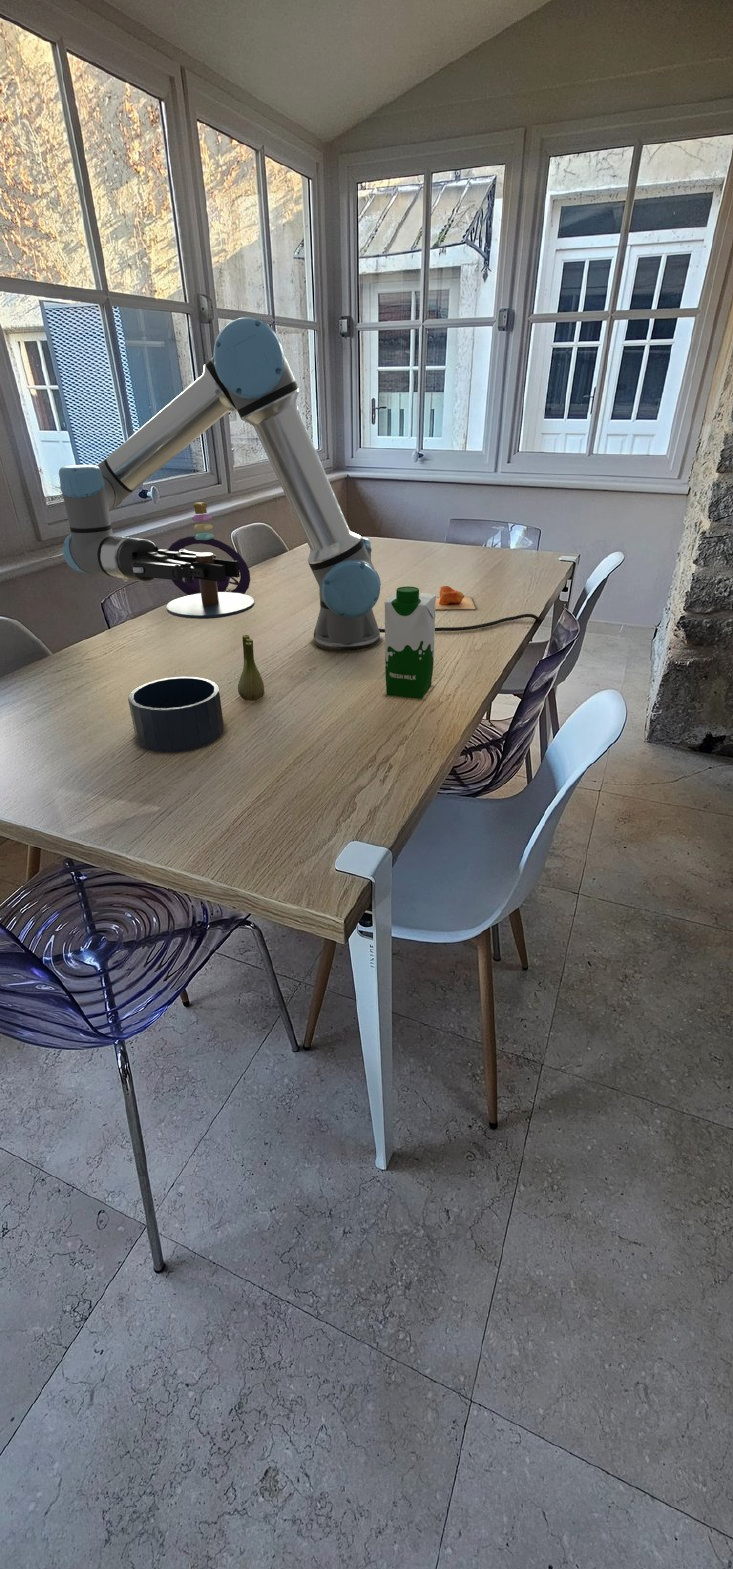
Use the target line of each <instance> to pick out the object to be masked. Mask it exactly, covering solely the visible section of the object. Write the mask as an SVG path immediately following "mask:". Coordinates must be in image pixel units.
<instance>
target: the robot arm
mask: <svg viewBox="0 0 733 1569" xmlns="http://www.w3.org/2000/svg"><path fill="white" fill-rule="evenodd" d="M212 354H213V356H212V358H210V359H209V360H208V361H207V362H205V364H204V365H203V372H202V375H200V376H199V377H198V378H197V379H196V380H195V381H193V382H192V383H191V384H190V385H188V386H187V388H185V389H184V390H183V391H182V392H181V393H179V395H177V396H176V397H175V398H174V399H172V400H171V401H170V402H169V403H168V404H167V405H165V407H163V408H162V409H161V410H160V411H159V412H157V413H156V414H155V415H154V416H153V417H152V418H151V419H149V421H147V422H146V423H145V424H144V425H142V426H141V427H140V428H139V429H138V430H137V431H136V432H134V433H133V434H132V435H131V436H129V438H128V439H126V440H125V441H124V442H123V443H122V444H121V445H120V446H119V447H117V448H116V449H115V450H114V451H112V452H111V454H109V455H107V457H106V458H105V459H103V460H102V461H101V462H100V463H98V464H97V465H95V464H71V465H64V466H62V467H60V468H59V470H58V478H59V484H60V486H59V490H60V491H61V492H60V493H61V494H62V498H63V503H64V507H65V512H66V517H67V520H68V524H69V525H68V526H69V529H70V531H69V532H70V534H68V535H67V537H65V539H64V541H63V547H62V555H63V558H64V560H65V562H66V564H67V565H68V566H69V567H70V568H71V569H73V570H74V571H77V572H81V573H84V574H87V575H92V576H101V577H111V578H117V579H118V578H119V579H122V581H123V582H128V581H129V580H132V581H137V582H143V583H148V582H152V581H154V580H155V579H162V580H170V581H172V580H178V581H181V580H183V579H185V578H187V583H192V582H193V576H194V578H195V579H203V580H210V581H217V582H226V576H228V577H233V578H235V579H236V578H240V570H239V564H238V561H234V560H233V559H226V558H218V557H217V554H214V553H213V557H214V564H210V563H202V562H196V554H199V553H200V552H197V551H191V550H187V549H185V548H183V549H180V550H179V552H172V551H168V549H159V547H158V546H157V545H156V544H155V542H153V541H151V540H149V539H146V538H136V537H128V536H117V535H114V532H113V525H112V521H111V515H110V511H111V510H114V509H116V508H117V507H118V506H120V504H121V503H123V501H124V500H125V499H126V498H127V497H129V496H130V495H131V494H132V493H133V492H134V491H135V490H136V489H138V488H139V487H140V486H142V484H143V483H145V482H147V480H149V479H150V478H151V477H152V476H154V474H156V473H157V472H158V471H160V469H161V468H163V467H164V466H166V465H167V464H168V463H170V461H171V460H172V459H174V458H175V457H176V456H177V455H178V454H179V453H182V451H183V450H185V449H186V448H187V447H188V446H189V445H190V444H192V443H193V442H194V441H195V440H196V439H197V438H199V437H200V436H201V435H203V434H204V433H205V432H206V431H207V430H209V428H211V427H212V426H213V425H214V424H215V423H217V422H218V421H219V420H220V419H222V418H223V417H224V416H225V415H226V414H227V413H229V412H234V413H237V414H238V416H239V418H240V420H241V421H244V422H245V423H247V424H249V425H252V426H253V428H254V430H255V432H256V434H257V437H258V440H259V441H260V443H261V445H262V448H263V449H264V452H265V454H266V457H267V458H268V460H269V463H270V465H271V467H272V469H273V471H274V473H275V476H276V478H277V480H278V482H279V484H280V487H281V488H282V491H283V493H284V496H285V497H286V499H287V501H288V503H289V506H290V508H291V511H292V513H293V514H294V517H295V520H296V522H297V523H298V525H299V527H300V530H301V532H302V534H303V536H304V539H305V541H306V543H307V546H308V547H309V550H310V552H309V555H308V558H307V564H308V565H309V569H310V570H311V572H312V574H313V577H314V578H315V581H316V583H317V585H318V589H319V590H318V592H319V605H320V606H319V611H318V617H317V619H316V624H315V627H314V630H313V642H314V645H316V646H317V647H318V648H321V649H323V650H328V651H335V652H353V651H354V652H355V651H361V650H362V651H363V650H366V649H370V648H372V647H375V646H376V645H378V644H379V643H380V641H381V633H384V634H385V628H379V625H378V622H377V620H376V617H375V614H374V611H373V608H374V607H375V606H376V604H377V603H378V600H379V598H380V596H381V595H380V594H381V586H382V584H381V583H382V582H381V578H380V576H379V573H378V572H377V570H376V569H375V567H374V564H373V562H372V551H373V549H372V544H371V541H370V539H369V538H368V537H364V536H361V535H360V534H358V533H355V532H353V531H351V530H350V527H349V526H348V525H349V524H348V523H347V520H346V518H345V516H344V513H343V511H342V508H341V506H340V504H339V501H338V499H337V497H336V494H335V492H334V490H333V487H332V485H331V483H330V480H329V478H328V475H327V472H326V471H325V469H324V465H323V464H322V462H321V459H320V457H319V454H318V451H317V450H316V448H315V445H314V443H313V440H312V438H311V435H310V433H309V431H308V429H307V426H306V423H305V422H304V420H303V417H302V415H301V412H300V409H299V407H298V405H297V400H298V396H299V394H300V388H299V386H298V383H297V381H296V378H295V376H294V374H293V371H292V369H291V367H290V364H289V362H288V360H287V357H286V355H285V351H284V347H283V344H282V342H281V339H280V338H279V335H278V334H277V333H276V331H275V330H274V329H273V328H272V327H271V326H270V325H269V324H268V323H267V322H266V321H263V320H261V319H259V318H256V317H252V316H246V317H245V316H242V317H241V316H240V317H239V318H236V319H233V320H232V321H230V322H229V323H227V324H225V325H224V326H223V328H221V330H220V331H219V333H218V335H217V336H216V339H215V341H214V346H213V353H212ZM183 581H184V580H183ZM525 618H531V619H534V620H535V621H537V622H540V621H541V618H540V617H539V616H538V615H536V614H535V613H534V614H533V613H523V614H518V615H514V616H507V617H503V618H500V619H496V620H493V621H489V622H484V623H480V624H475V625H468V626H453V627H448V626H447V627H446V626H445V627H435V632H461V631H462V632H463V631H471V630H477V629H481V628H487V627H492V626H495V625H499V624H502V623H504V622H510V621H515V620H519V619H525Z"/></svg>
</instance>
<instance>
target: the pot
mask: <svg viewBox="0 0 733 1569" xmlns="http://www.w3.org/2000/svg"><path fill="white" fill-rule="evenodd" d="M127 700H128V706H129V711H130V715H131V716H130V717H131V721H132V726H133V730H134V731H133V732H134V735H135V740H136V743H137V744H138V745H139V746H140V747H142V748H144V749H146V750H148V751H152V752H157V753H166V754H167V753H170V754H173V753H183V752H190V751H194V750H198V749H201V748H204V747H207V746H208V745H210V744H213V743H215V742H216V741H217V740H219V739H220V738H221V737H222V736H223V734H224V732H225V726H224V717H223V709H222V701H221V694H220V686H219V685H218V684H217V683H216V682H214V681H213V680H210V679H207V678H203V677H196V676H175V677H174V676H173V677H165V678H161V679H155V680H152V681H150V682H146V683H144V684H142V685H140V686H138V687H136V688H134V689H133V690H132V691H131V692H130V693H129V694H128V698H127Z"/></svg>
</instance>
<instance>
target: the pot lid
mask: <svg viewBox="0 0 733 1569" xmlns="http://www.w3.org/2000/svg"><path fill="white" fill-rule="evenodd" d="M213 554H214V553H213V552H199V554H196V562H202V563H210V564H214V557H213ZM199 584H200V591H201V593H200V594H193V595H185V596H182V597H178V598H175V599H173V600H171V601H169V602H168V603H167V605H165V606H166V607H165V608H166V612H167V613H168V614H169V615H171V616H174V617H178V618H183V619H193V620H212V619H221V618H227V617H232V616H235V615H236V616H237V615H240V614H243V613H245V612H247V611H250V610H251V609H253V607H255V604H256V603H255V599H254V598H253V597H252V596H251V595H248V594H246V593H245V594H240V593H232V592H231V591H225V592H218V589H217V581H210V580H203V579H199Z"/></svg>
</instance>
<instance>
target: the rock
mask: <svg viewBox="0 0 733 1569" xmlns="http://www.w3.org/2000/svg"><path fill="white" fill-rule="evenodd" d="M435 610H445V611H447V610H476V607H475V605H474V602H473V600H472V597H471V596H470V597H469V596H468V597H467V596H466V597H465V594H464V593H463V592H462V591H458V590H456V589H454V588H452V587H450V586H448V585H442V586H440V590H439V597H436V602H435Z"/></svg>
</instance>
